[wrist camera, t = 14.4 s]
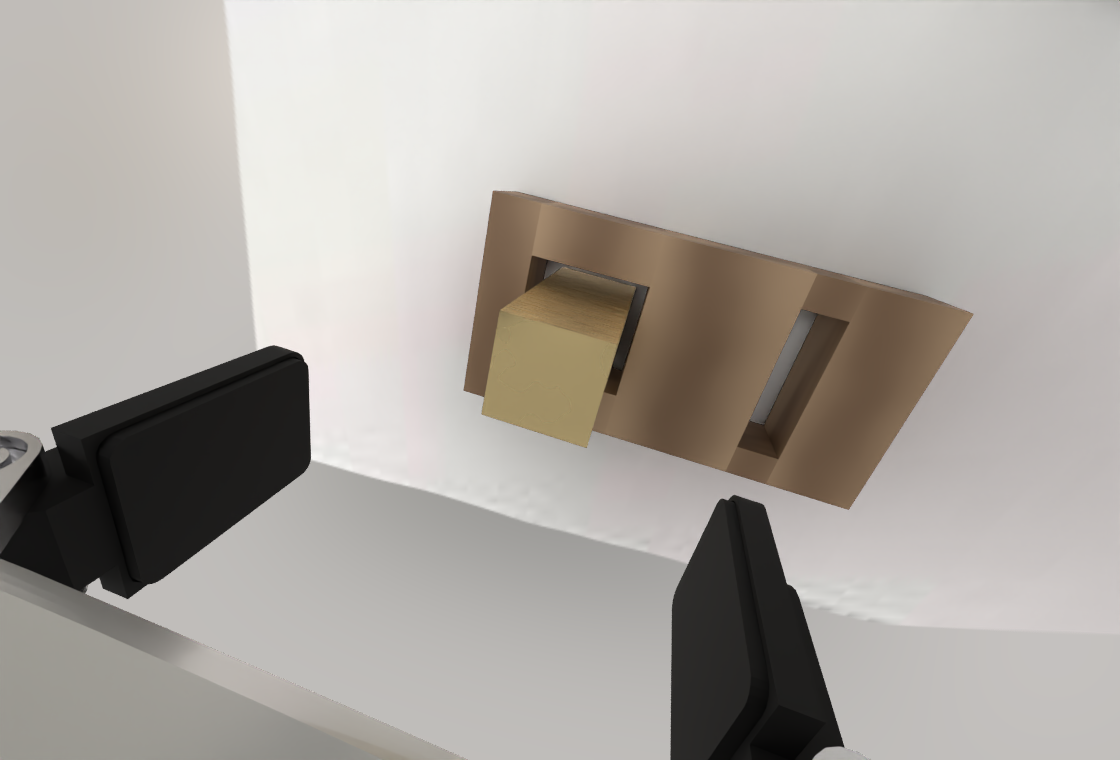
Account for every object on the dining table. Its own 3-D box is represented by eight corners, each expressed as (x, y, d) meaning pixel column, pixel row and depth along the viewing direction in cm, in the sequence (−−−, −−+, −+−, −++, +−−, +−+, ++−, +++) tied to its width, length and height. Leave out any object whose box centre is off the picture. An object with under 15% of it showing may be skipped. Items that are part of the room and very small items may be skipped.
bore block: (925, 295, 20) (973, 314, 17) (825, 469, 25) (848, 509, 21) (516, 191, 23) (493, 190, 19) (487, 367, 27) (463, 390, 24)
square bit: (636, 287, 23) (617, 345, 14) (615, 356, 25) (586, 447, 16) (563, 267, 24) (499, 310, 15) (547, 336, 25) (481, 414, 16)
